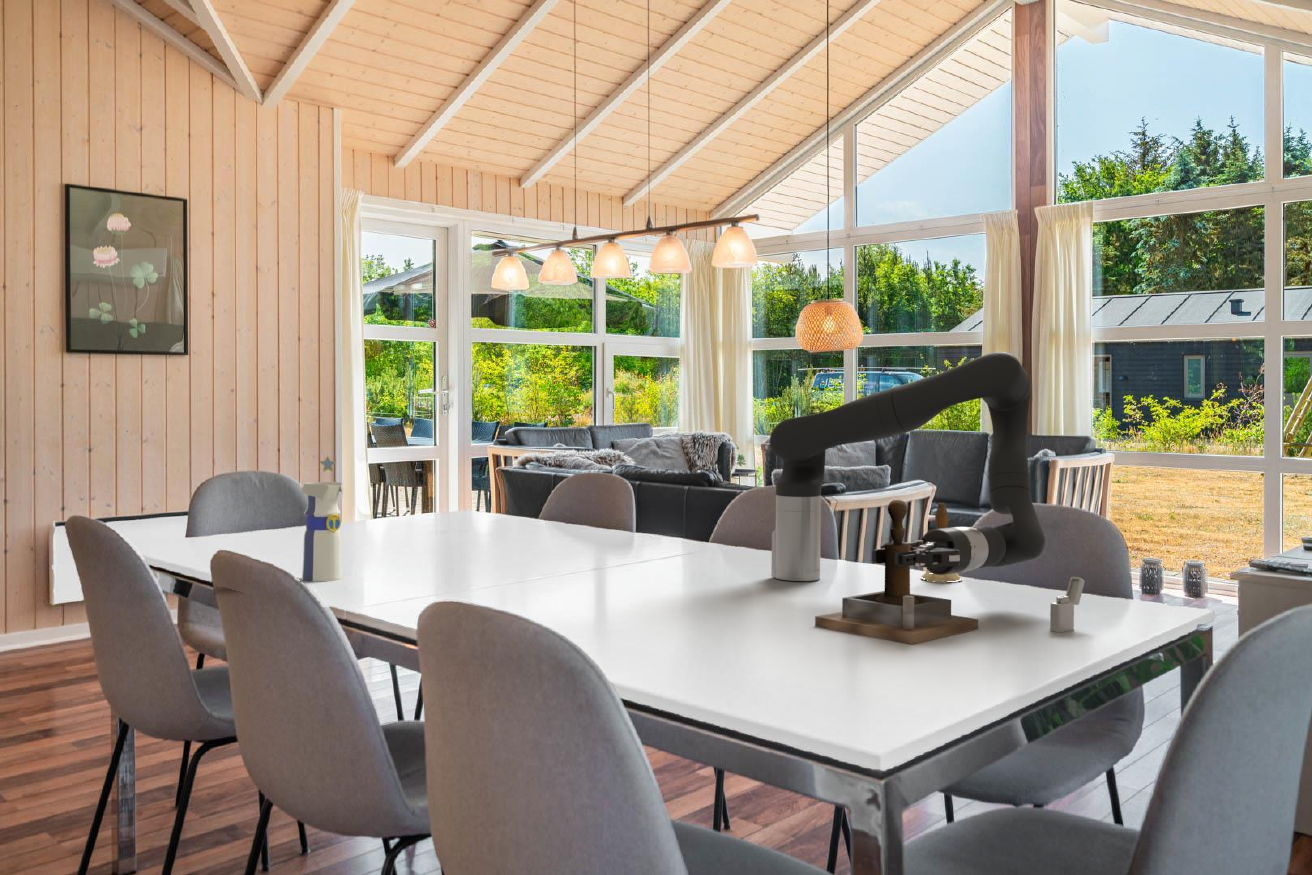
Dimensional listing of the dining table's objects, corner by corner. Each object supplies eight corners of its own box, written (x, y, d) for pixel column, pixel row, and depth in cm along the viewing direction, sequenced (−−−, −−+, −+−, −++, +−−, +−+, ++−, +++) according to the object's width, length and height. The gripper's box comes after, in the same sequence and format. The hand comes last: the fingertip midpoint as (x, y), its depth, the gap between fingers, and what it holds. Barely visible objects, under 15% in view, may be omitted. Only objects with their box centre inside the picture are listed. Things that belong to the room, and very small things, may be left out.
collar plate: (815, 625, 165) (815, 584, 165) (883, 612, 177) (883, 574, 177) (911, 644, 152) (912, 599, 152) (978, 628, 164) (978, 587, 164)
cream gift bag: (354, 577, 212) (354, 454, 212) (320, 582, 205) (320, 455, 205) (326, 574, 217) (327, 454, 216) (292, 579, 210) (293, 454, 209)
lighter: (1059, 632, 161) (1060, 580, 161) (1049, 630, 163) (1050, 579, 163) (1084, 627, 166) (1085, 577, 166) (1074, 625, 167) (1075, 575, 167)
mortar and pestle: (915, 610, 167) (916, 498, 167) (921, 618, 161) (922, 502, 161) (873, 609, 168) (874, 498, 168) (878, 617, 162) (878, 501, 161)
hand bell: (961, 584, 210) (962, 505, 210) (919, 581, 213) (920, 503, 213) (963, 578, 218) (964, 502, 218) (922, 576, 221) (923, 501, 221)
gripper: (919, 523, 178) (851, 530, 168) (991, 531, 167) (921, 538, 157) (919, 567, 179) (850, 576, 168) (990, 577, 167) (921, 588, 157)
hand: (885, 558), depth 163 cm, fingers closed on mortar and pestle, 3 cm apart
